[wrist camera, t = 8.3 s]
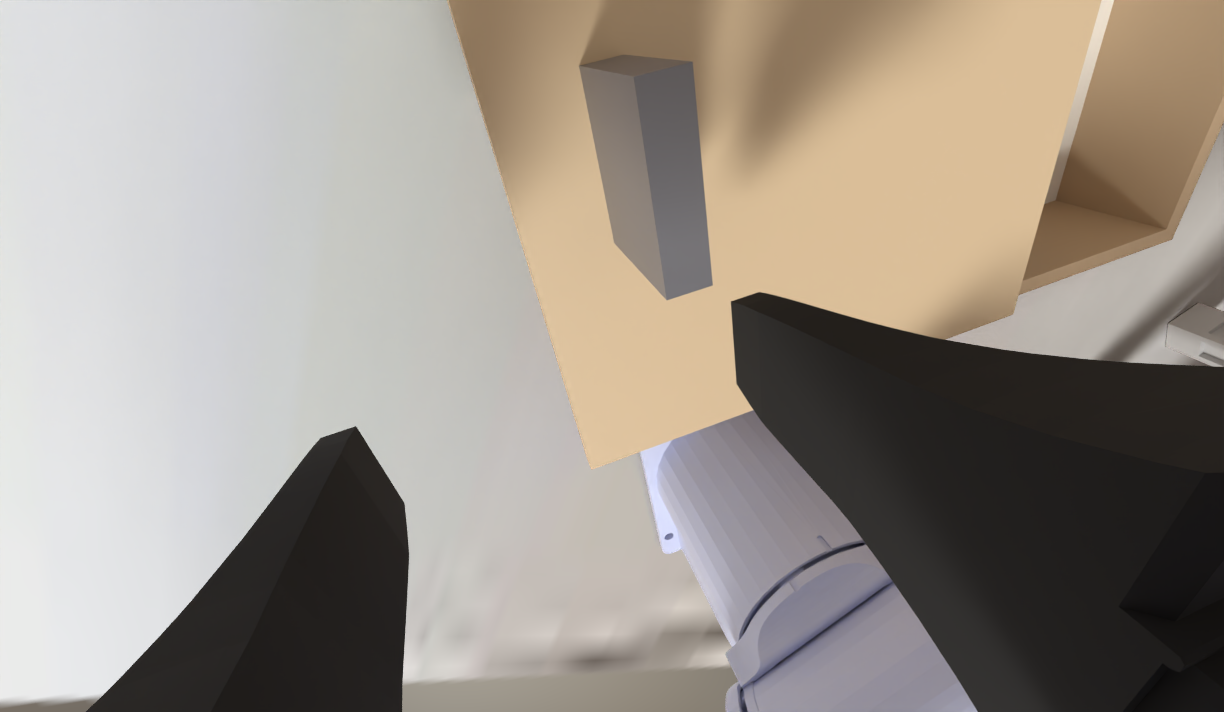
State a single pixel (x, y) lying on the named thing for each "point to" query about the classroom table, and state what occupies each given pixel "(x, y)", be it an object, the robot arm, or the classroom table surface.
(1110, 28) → the tan shallow tray
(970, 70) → the lid
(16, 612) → the classroom table surface
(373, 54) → the classroom table surface
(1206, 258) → the classroom table surface
